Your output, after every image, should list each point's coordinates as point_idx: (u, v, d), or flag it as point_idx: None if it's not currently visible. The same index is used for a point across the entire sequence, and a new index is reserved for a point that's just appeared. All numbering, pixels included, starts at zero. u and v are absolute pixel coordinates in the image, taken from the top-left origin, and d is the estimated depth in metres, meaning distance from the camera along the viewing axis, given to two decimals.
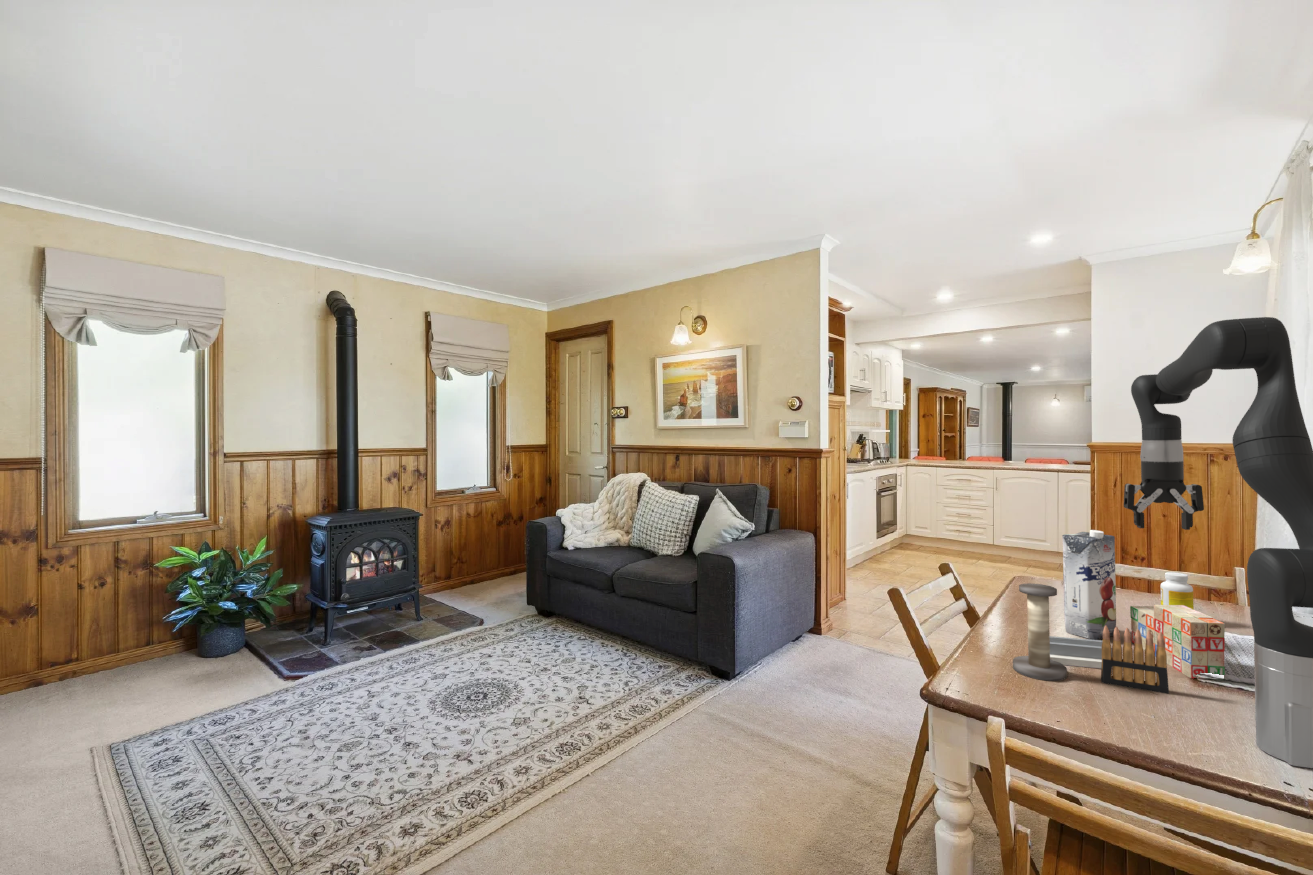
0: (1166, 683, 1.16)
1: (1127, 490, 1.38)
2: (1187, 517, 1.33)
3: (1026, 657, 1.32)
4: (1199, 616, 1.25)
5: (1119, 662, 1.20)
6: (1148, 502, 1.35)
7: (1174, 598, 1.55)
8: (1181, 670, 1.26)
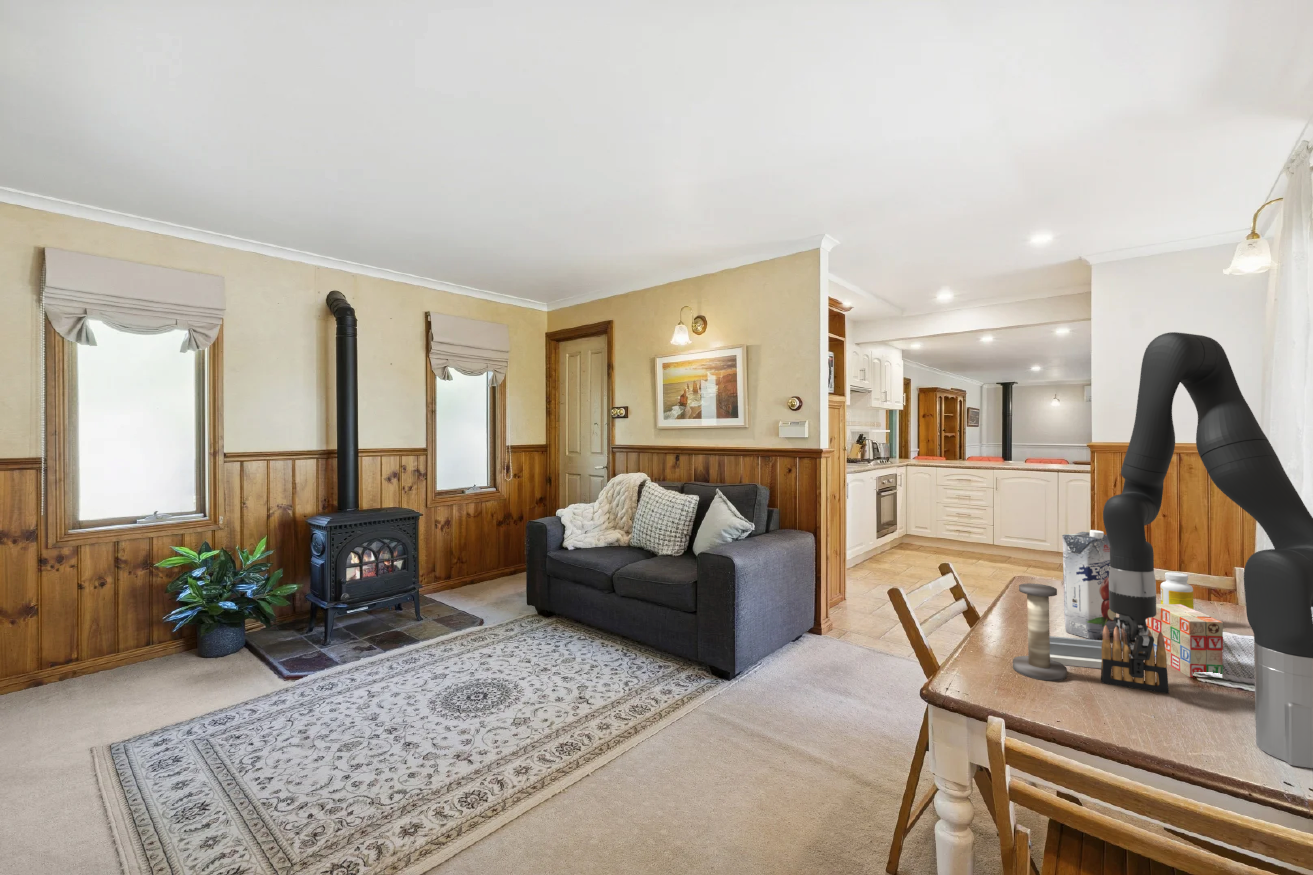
0: (1166, 683, 1.16)
1: (1149, 644, 1.14)
2: None
3: (1026, 657, 1.32)
4: (1197, 615, 1.26)
5: (1119, 662, 1.20)
6: None
7: (1174, 598, 1.55)
8: (1180, 669, 1.26)
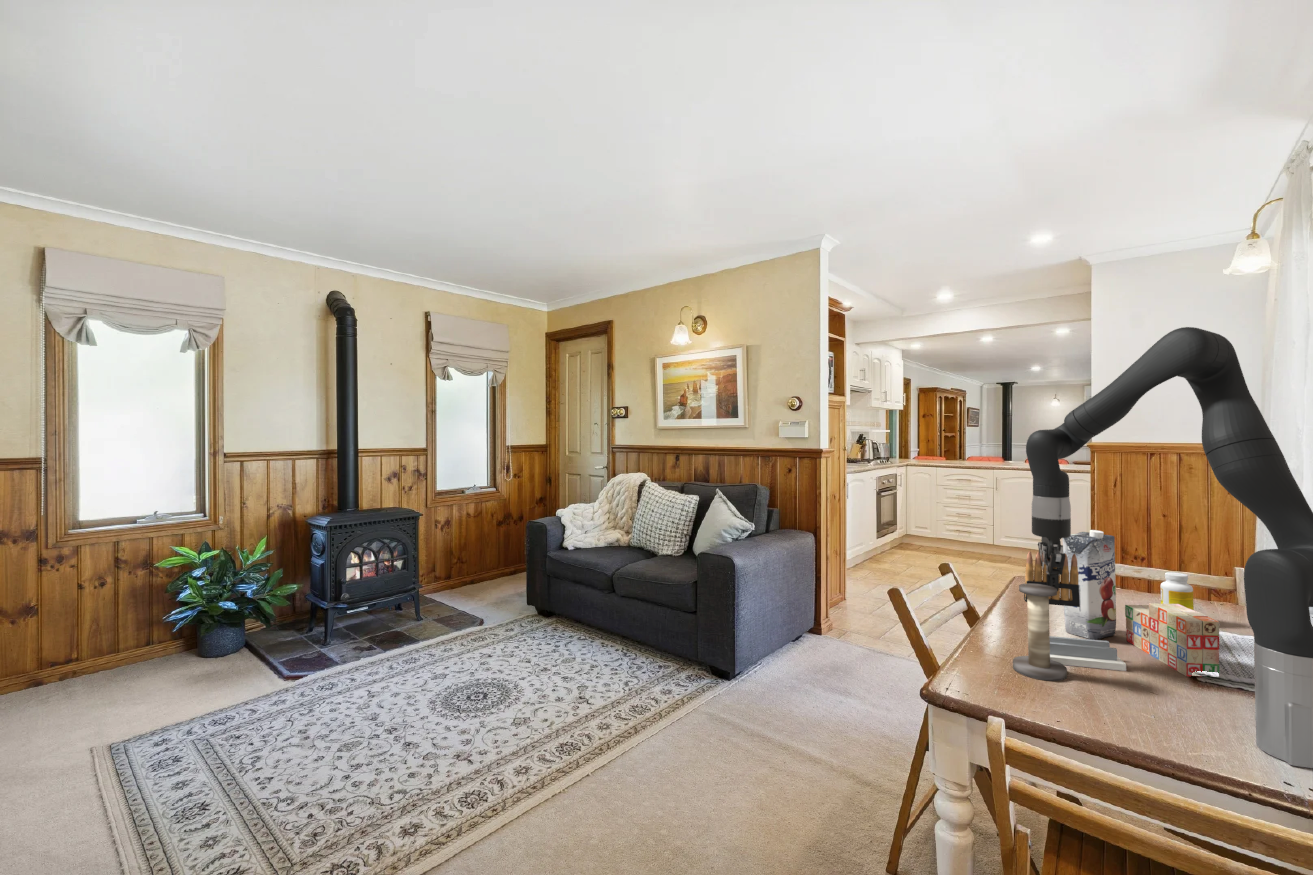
0: (1078, 598, 1.32)
1: (1061, 560, 1.29)
2: None
3: (1026, 657, 1.32)
4: (1194, 614, 1.26)
5: (1040, 582, 1.35)
6: None
7: (1174, 598, 1.55)
8: (1176, 668, 1.27)
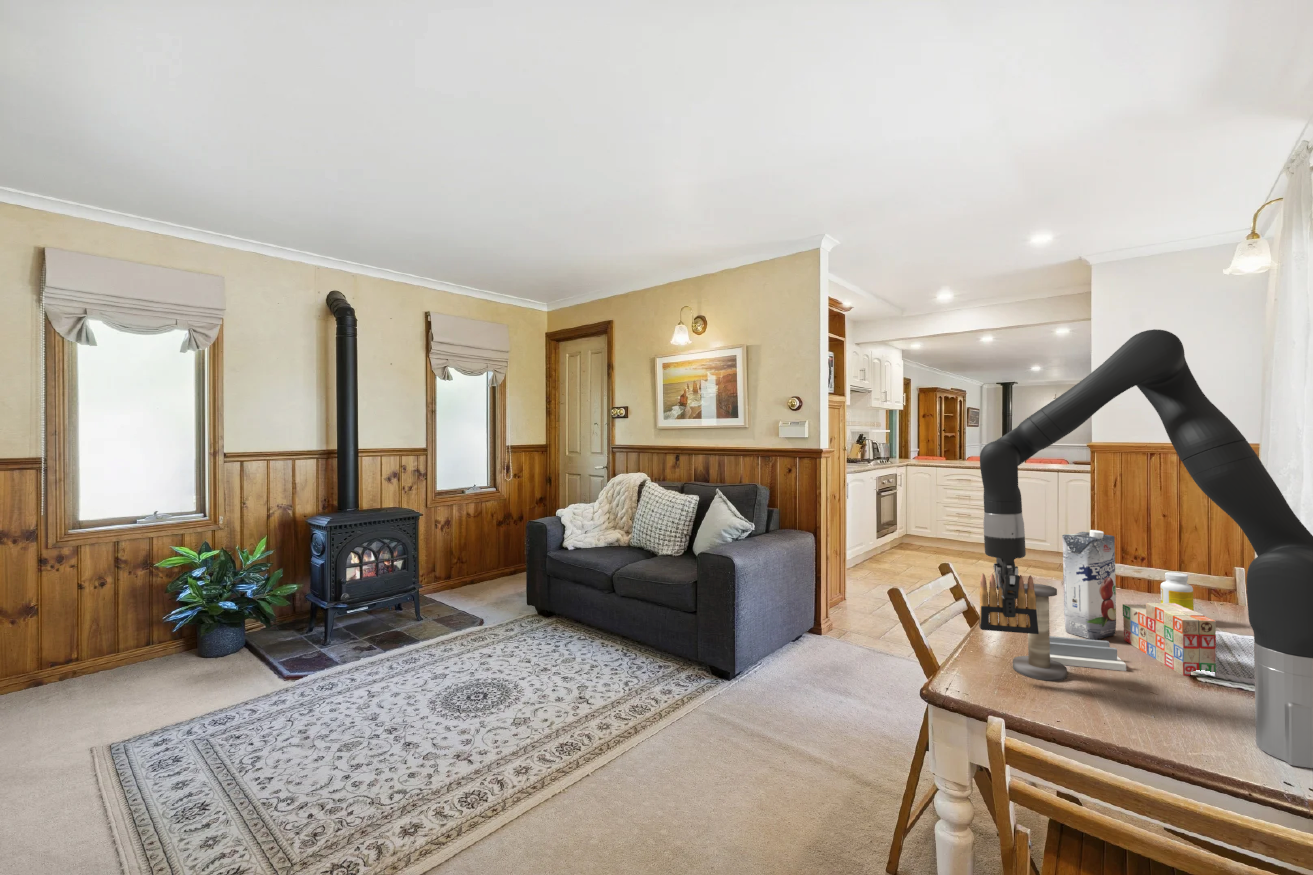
0: (1036, 624, 1.21)
1: (1015, 583, 1.18)
2: None
3: (1026, 657, 1.32)
4: (1190, 614, 1.27)
5: (995, 608, 1.24)
6: None
7: (1174, 598, 1.55)
8: (1173, 667, 1.27)
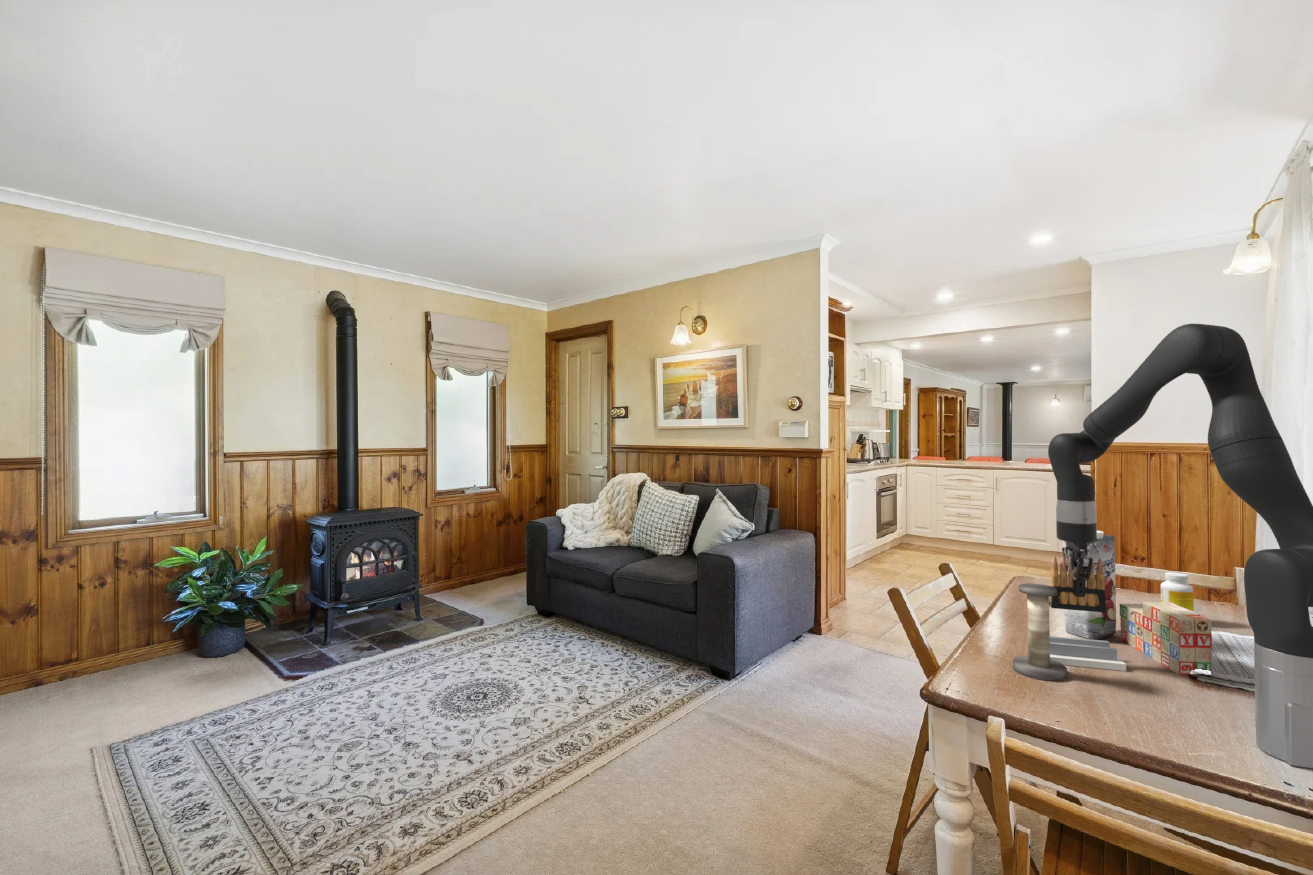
0: (1104, 603, 1.31)
1: (1088, 565, 1.28)
2: None
3: (1026, 657, 1.32)
4: (1187, 613, 1.27)
5: (1066, 588, 1.33)
6: None
7: (1174, 598, 1.55)
8: (1169, 666, 1.28)
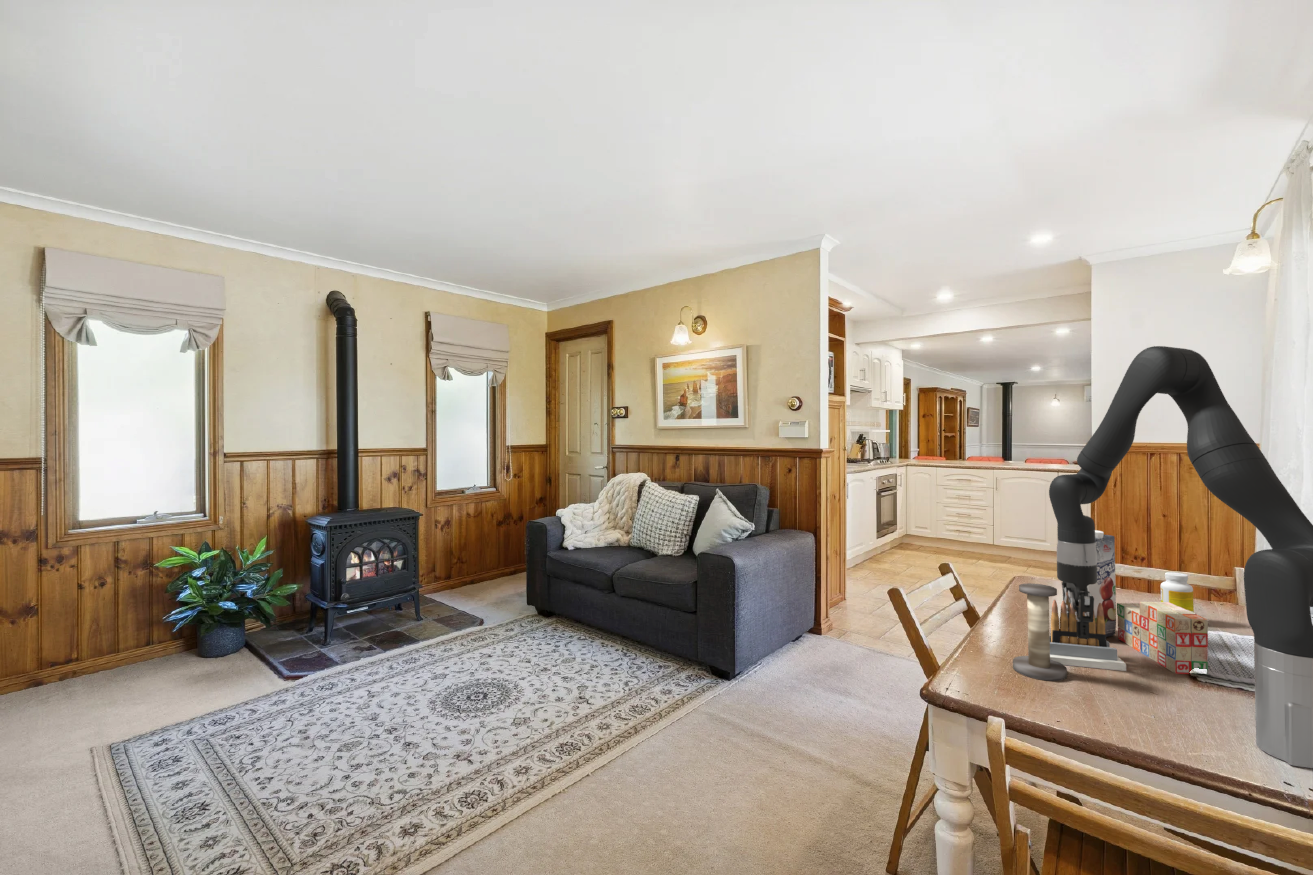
0: None
1: (1090, 603, 1.27)
2: None
3: (1026, 657, 1.32)
4: (1183, 612, 1.28)
5: (1066, 632, 1.34)
6: None
7: (1174, 598, 1.55)
8: (1166, 665, 1.28)
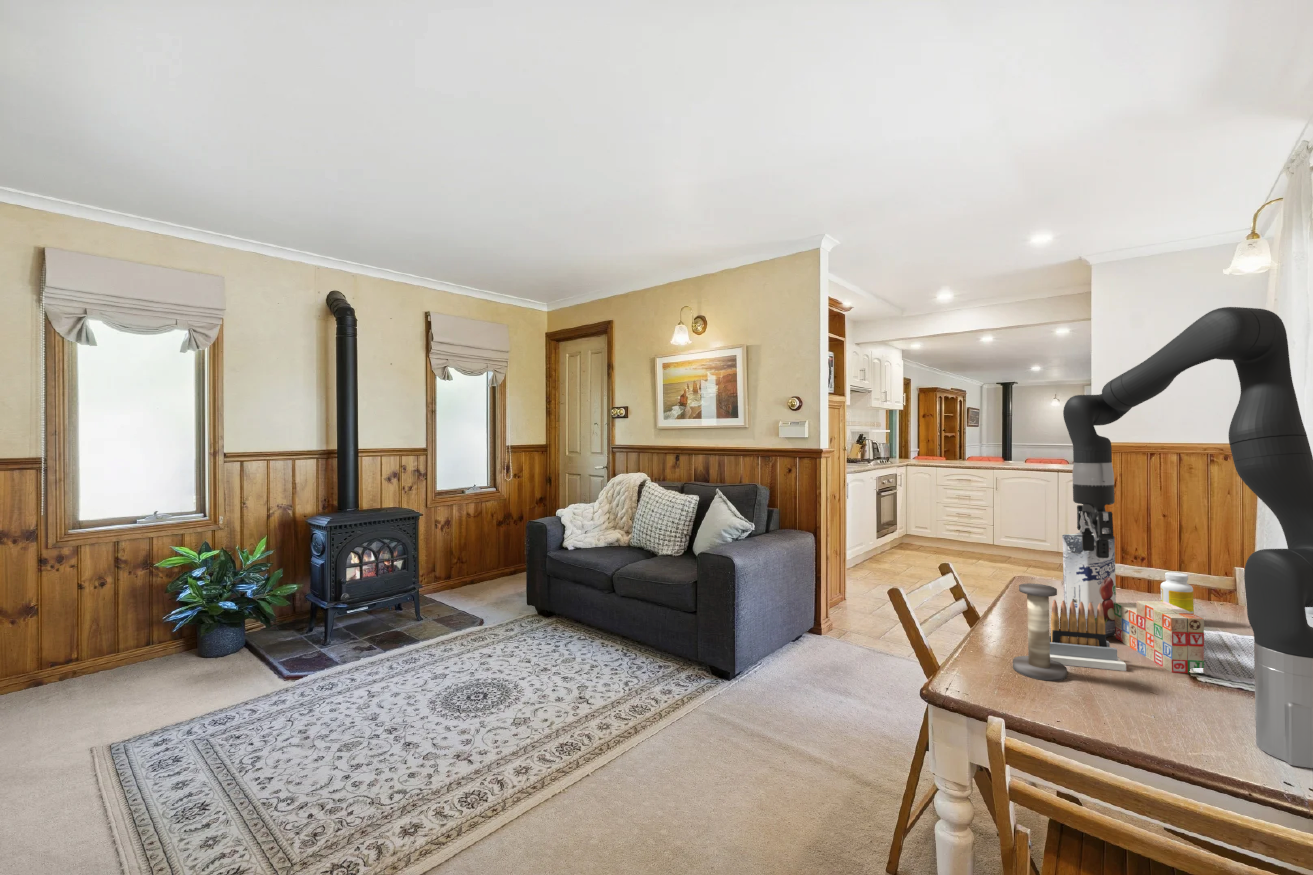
0: None
1: (1109, 518, 1.25)
2: None
3: (1026, 657, 1.32)
4: (1180, 612, 1.28)
5: (1066, 632, 1.34)
6: None
7: (1174, 598, 1.55)
8: (1162, 664, 1.29)
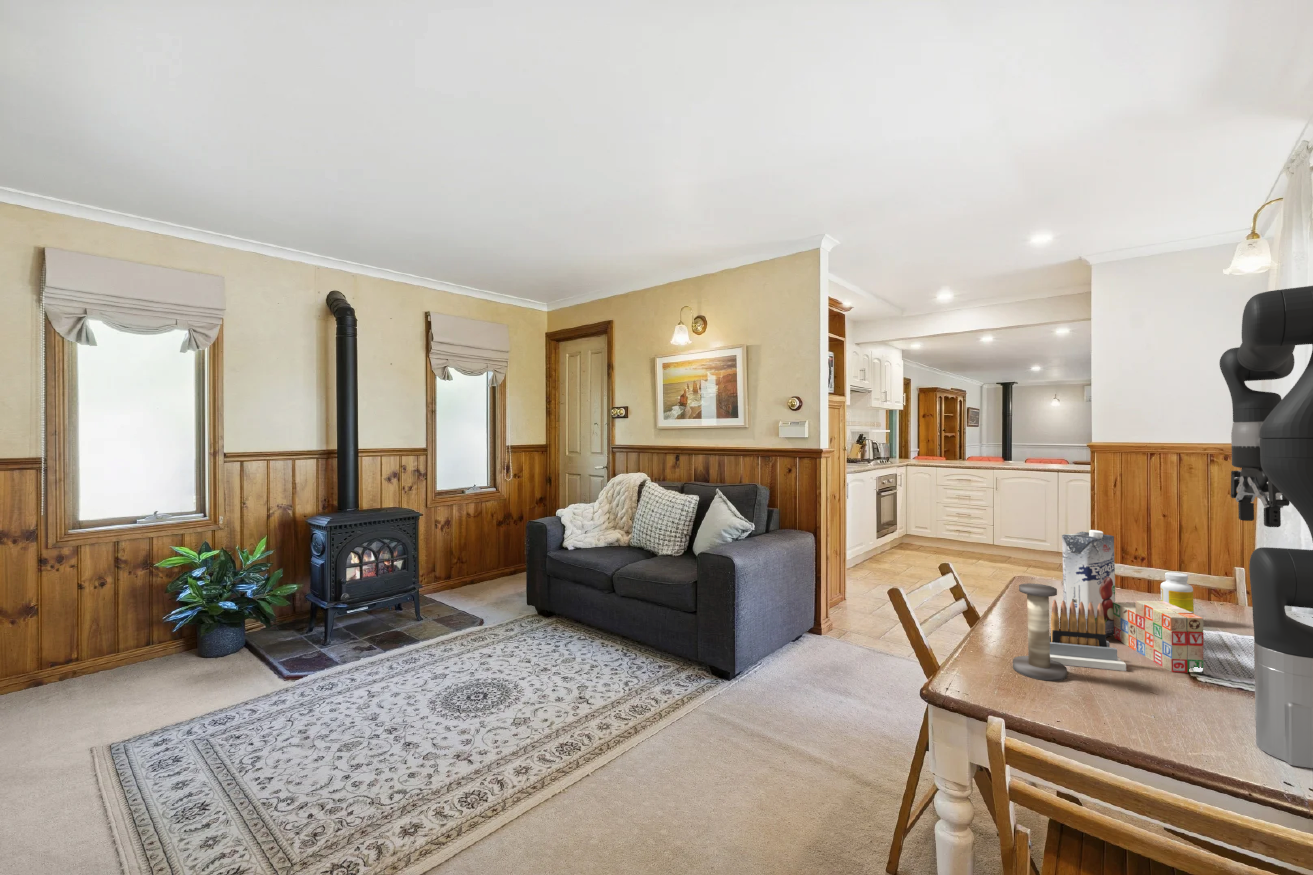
0: None
1: None
2: None
3: (1026, 657, 1.32)
4: (1179, 611, 1.29)
5: (1066, 632, 1.34)
6: None
7: (1174, 598, 1.55)
8: (1162, 664, 1.29)
